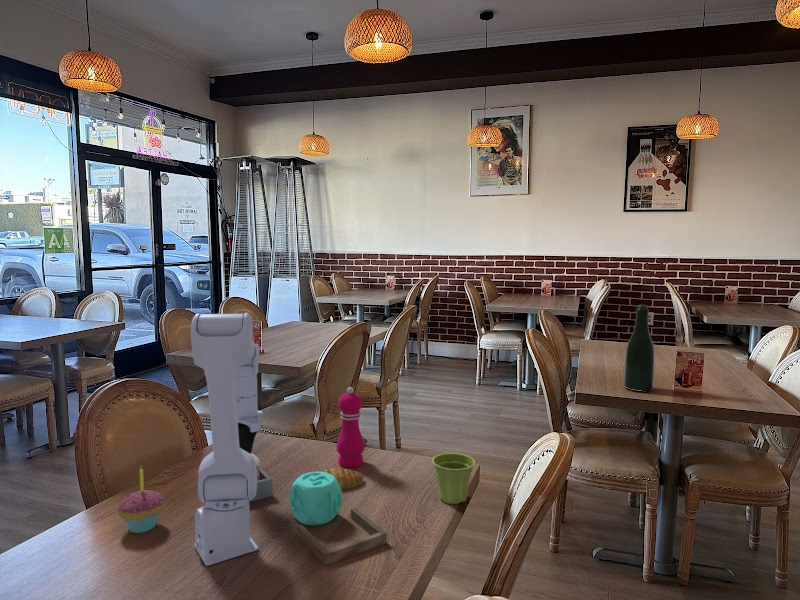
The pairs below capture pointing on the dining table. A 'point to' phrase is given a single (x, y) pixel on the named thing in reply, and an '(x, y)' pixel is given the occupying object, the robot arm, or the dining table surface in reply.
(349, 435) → the pepper mill
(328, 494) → the decorative dice
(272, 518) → the dining table surface
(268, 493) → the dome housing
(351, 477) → the pastry
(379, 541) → the frame
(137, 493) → the cupcake
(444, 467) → the plant pot
